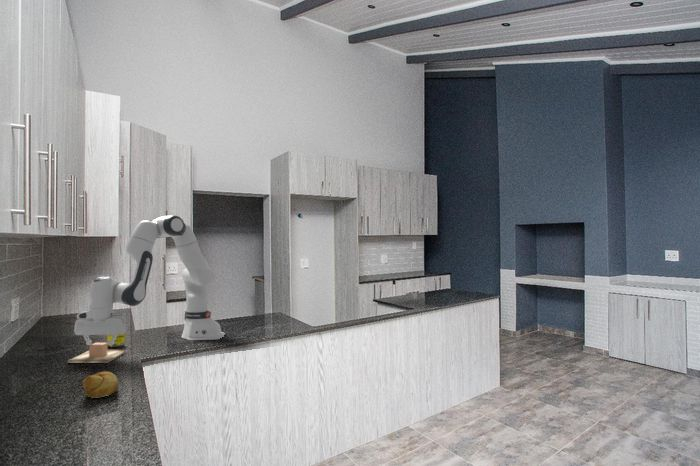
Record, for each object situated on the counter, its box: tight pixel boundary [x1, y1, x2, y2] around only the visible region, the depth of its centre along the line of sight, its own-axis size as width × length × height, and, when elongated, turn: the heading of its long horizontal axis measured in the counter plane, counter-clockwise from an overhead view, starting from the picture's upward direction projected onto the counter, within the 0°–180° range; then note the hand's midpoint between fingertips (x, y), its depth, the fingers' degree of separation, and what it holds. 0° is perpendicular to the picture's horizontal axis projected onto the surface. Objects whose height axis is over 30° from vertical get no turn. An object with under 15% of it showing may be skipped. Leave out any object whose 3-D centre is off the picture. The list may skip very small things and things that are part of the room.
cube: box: [88, 342, 109, 357], centre depth 172 cm, size 5×5×5 cm
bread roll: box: [82, 371, 119, 398], centre depth 134 cm, size 13×10×8 cm
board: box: [67, 349, 127, 364], centre depth 172 cm, size 16×16×2 cm
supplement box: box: [106, 332, 126, 349], centre depth 192 cm, size 6×6×11 cm
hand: (100, 344), depth 173 cm, fingers open, 8 cm apart
